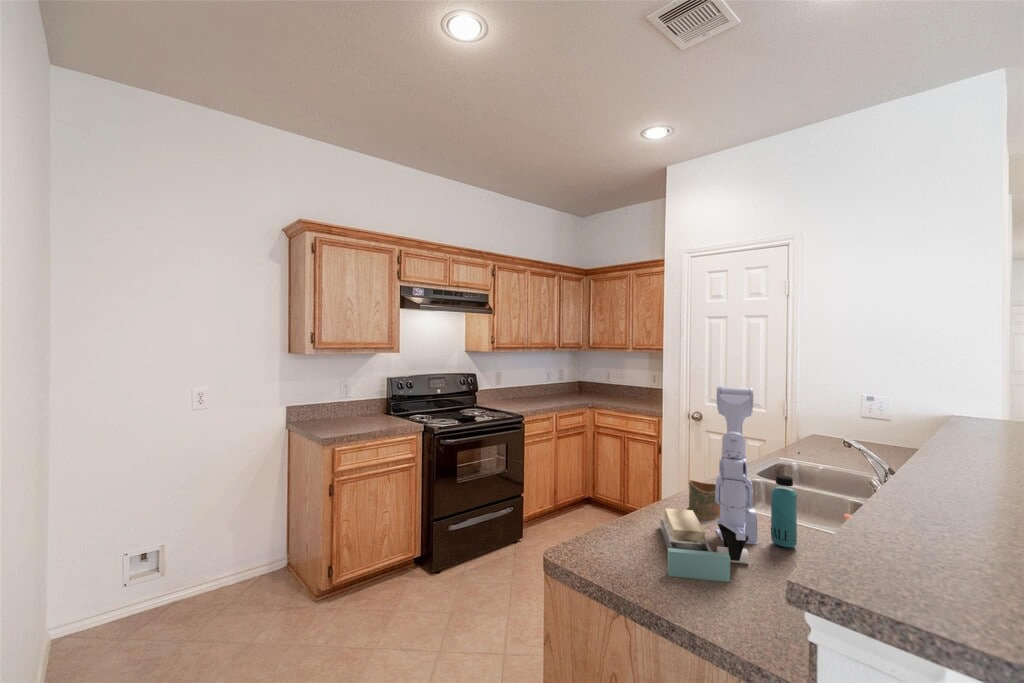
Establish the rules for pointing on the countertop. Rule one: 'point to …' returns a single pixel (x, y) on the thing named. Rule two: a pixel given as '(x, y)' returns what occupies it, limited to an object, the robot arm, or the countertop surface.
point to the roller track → (681, 543)
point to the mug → (703, 500)
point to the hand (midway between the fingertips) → (732, 556)
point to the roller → (743, 559)
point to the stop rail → (699, 564)
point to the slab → (684, 525)
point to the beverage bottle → (784, 513)
